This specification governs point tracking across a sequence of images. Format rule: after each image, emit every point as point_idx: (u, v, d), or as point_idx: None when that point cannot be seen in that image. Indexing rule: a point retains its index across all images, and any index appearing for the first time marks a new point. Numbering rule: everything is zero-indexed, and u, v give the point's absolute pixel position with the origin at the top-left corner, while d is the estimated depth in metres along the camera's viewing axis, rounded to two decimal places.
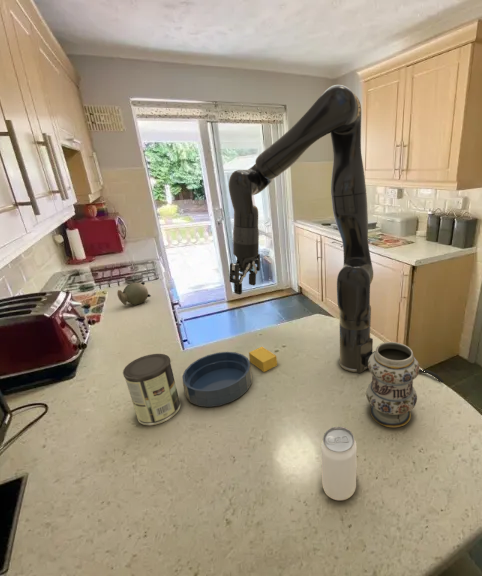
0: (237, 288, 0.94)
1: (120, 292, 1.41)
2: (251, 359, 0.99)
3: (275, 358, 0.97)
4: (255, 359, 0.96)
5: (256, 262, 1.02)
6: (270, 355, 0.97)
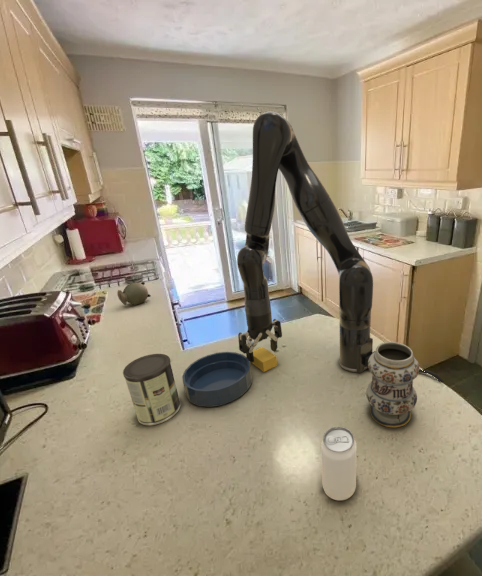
0: (248, 356, 0.94)
1: (120, 292, 1.41)
2: None
3: (275, 358, 0.97)
4: (255, 359, 0.96)
5: (277, 329, 0.99)
6: (270, 355, 0.97)
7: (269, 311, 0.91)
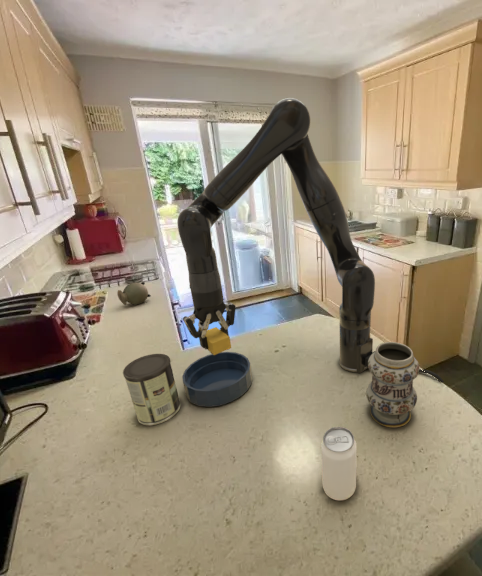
0: (201, 342, 0.82)
1: (120, 292, 1.41)
2: None
3: (228, 339, 0.83)
4: None
5: (229, 314, 0.85)
6: (223, 336, 0.83)
7: (218, 288, 0.78)
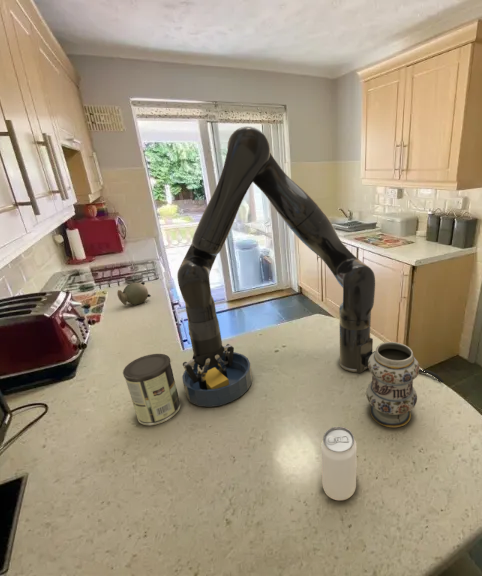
0: (200, 385, 0.84)
1: (120, 292, 1.41)
2: None
3: (227, 382, 0.85)
4: None
5: (228, 355, 0.88)
6: (222, 379, 0.85)
7: (217, 334, 0.80)
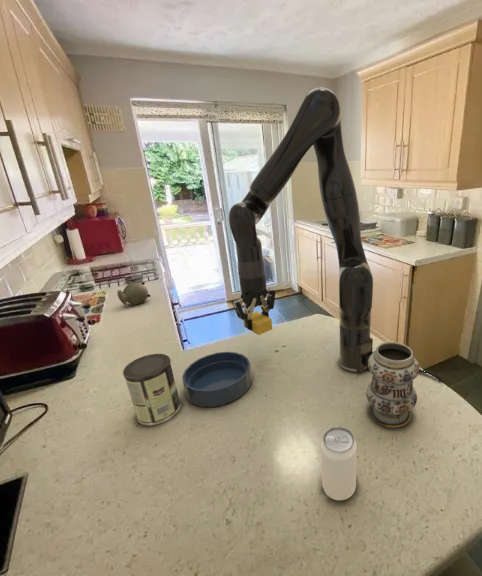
0: (246, 324, 0.91)
1: (120, 292, 1.41)
2: None
3: (270, 321, 0.93)
4: None
5: (270, 299, 0.95)
6: (265, 319, 0.93)
7: (263, 275, 0.88)
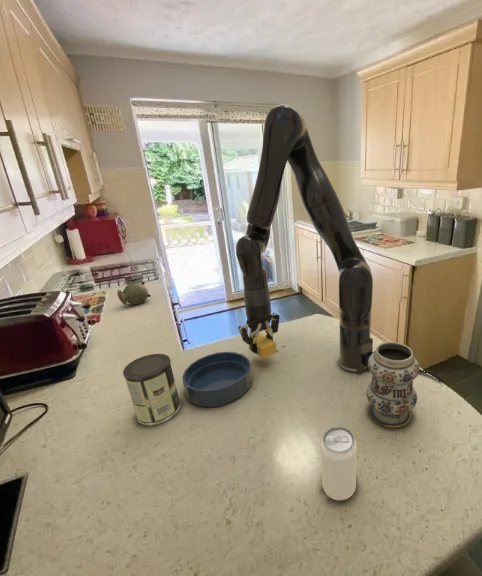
0: (252, 348, 0.95)
1: (120, 292, 1.41)
2: None
3: (274, 345, 0.96)
4: None
5: (274, 323, 0.99)
6: (270, 342, 0.96)
7: (268, 301, 0.92)
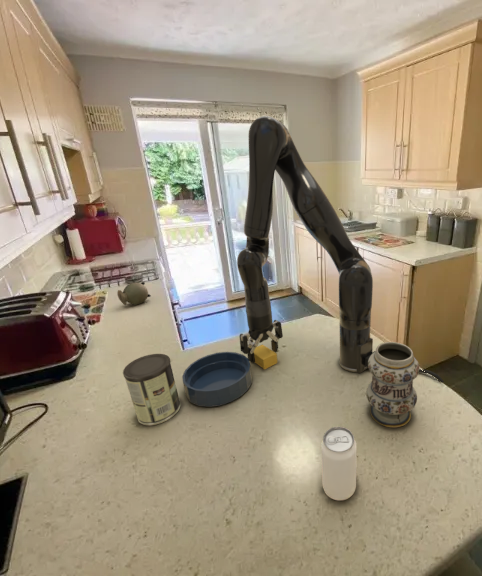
0: (249, 357, 0.95)
1: (120, 292, 1.41)
2: None
3: (275, 356, 0.98)
4: (256, 357, 0.98)
5: (277, 330, 1.00)
6: (271, 353, 0.98)
7: (269, 312, 0.93)
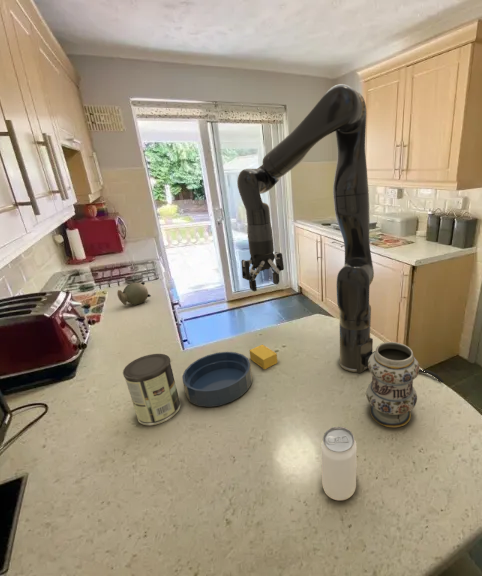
0: (251, 285, 0.97)
1: (120, 292, 1.41)
2: (252, 357, 1.00)
3: (275, 356, 0.98)
4: (256, 357, 0.98)
5: (278, 261, 1.02)
6: (271, 353, 0.98)
7: (271, 238, 0.94)
